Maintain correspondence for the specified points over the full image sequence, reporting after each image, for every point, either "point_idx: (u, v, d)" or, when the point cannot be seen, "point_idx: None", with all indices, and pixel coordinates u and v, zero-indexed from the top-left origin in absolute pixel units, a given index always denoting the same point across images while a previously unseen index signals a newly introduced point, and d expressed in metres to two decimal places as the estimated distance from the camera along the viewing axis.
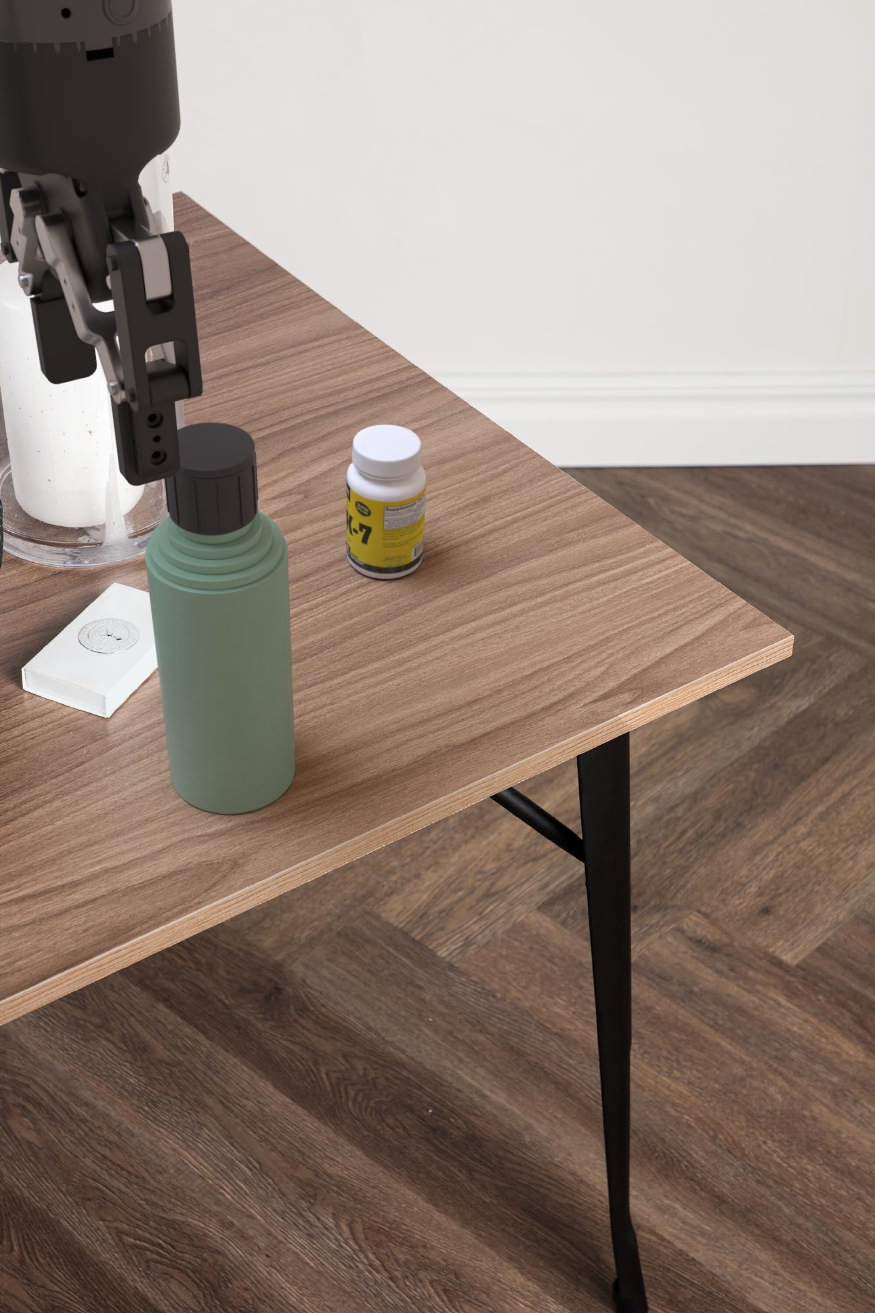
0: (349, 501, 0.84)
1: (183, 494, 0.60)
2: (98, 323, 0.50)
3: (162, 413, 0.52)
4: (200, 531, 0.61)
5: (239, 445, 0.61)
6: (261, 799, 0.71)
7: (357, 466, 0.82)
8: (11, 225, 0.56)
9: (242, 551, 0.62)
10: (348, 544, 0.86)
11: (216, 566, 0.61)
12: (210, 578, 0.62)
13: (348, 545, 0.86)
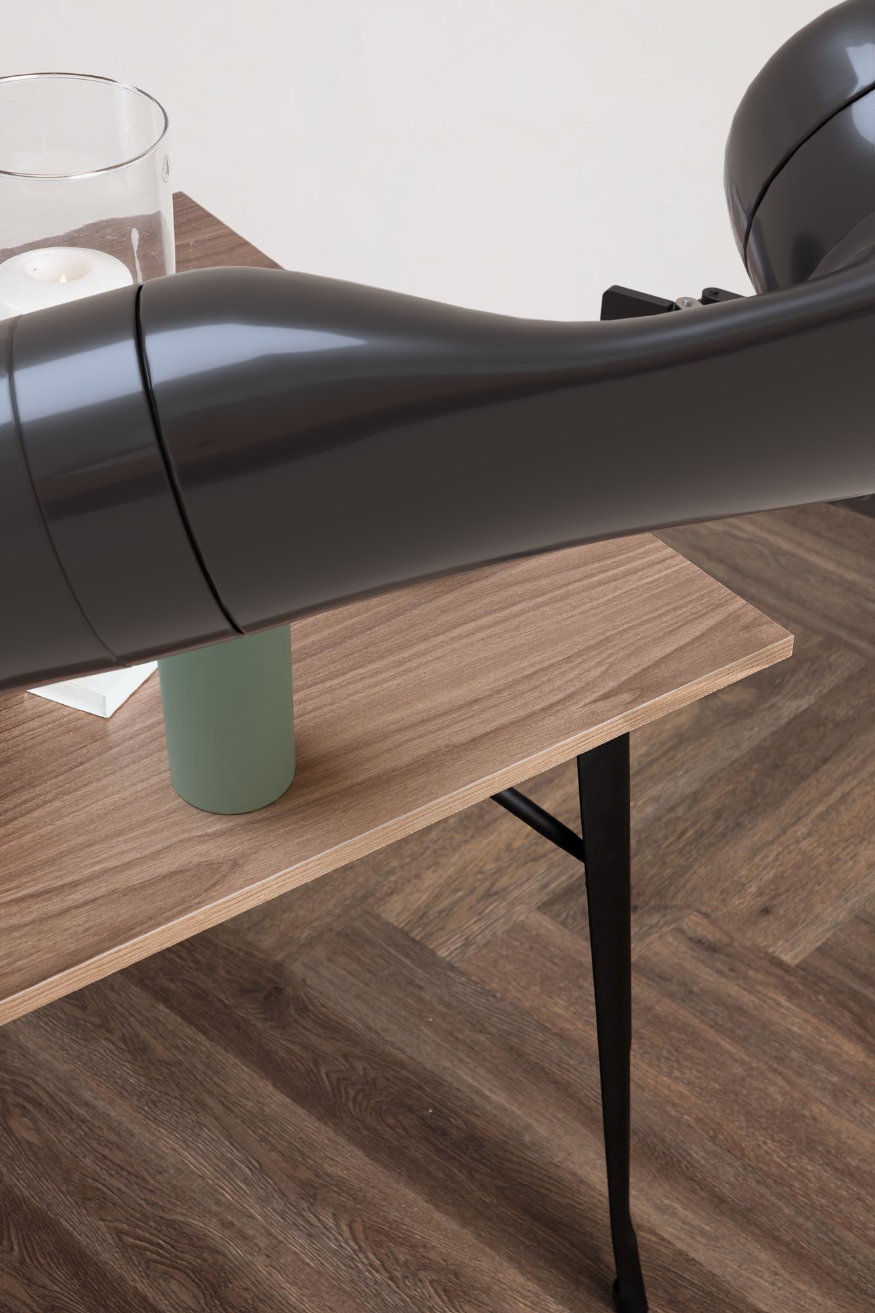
0: None
1: None
2: None
3: None
4: None
5: None
6: (261, 799, 0.71)
7: None
8: None
9: None
10: None
11: None
12: None
13: None
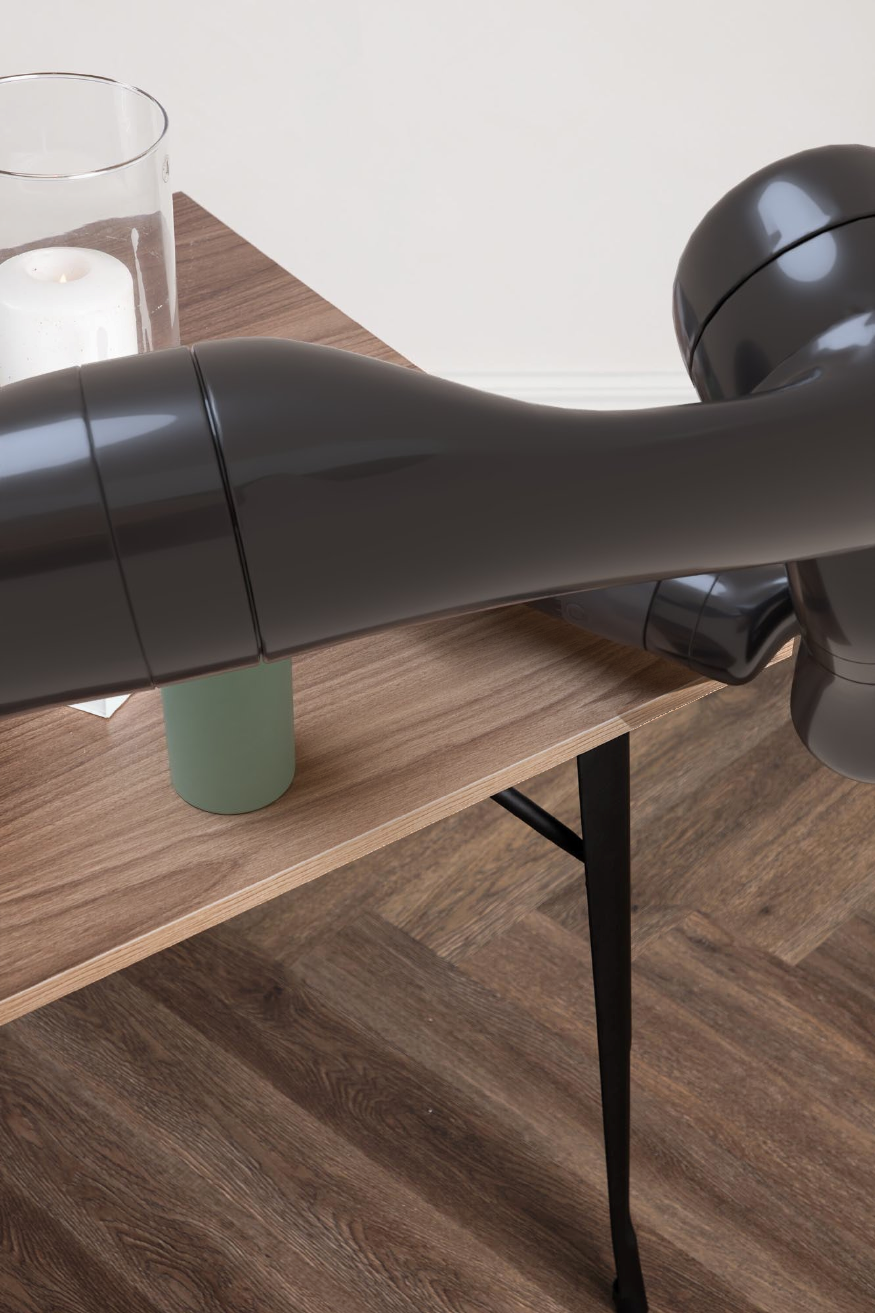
0: None
1: None
2: None
3: None
4: None
5: None
6: (261, 799, 0.71)
7: None
8: None
9: None
10: None
11: None
12: None
13: None
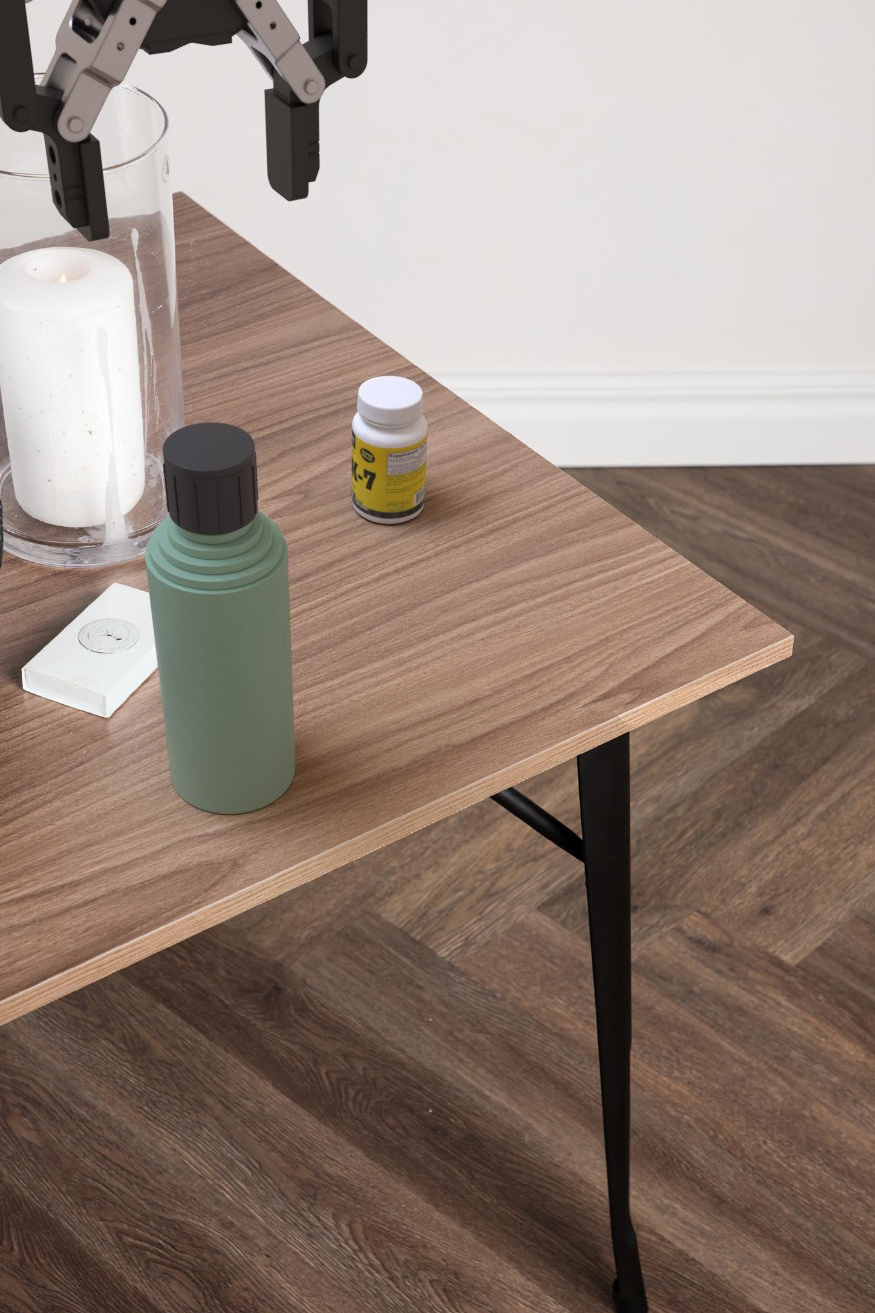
0: (354, 448, 0.88)
1: (183, 494, 0.60)
2: (63, 35, 0.49)
3: (56, 153, 0.49)
4: (200, 531, 0.61)
5: (239, 445, 0.61)
6: (261, 799, 0.71)
7: (362, 414, 0.86)
8: (309, 12, 0.53)
9: (242, 551, 0.62)
10: (353, 491, 0.90)
11: (216, 566, 0.61)
12: (210, 578, 0.62)
13: (353, 492, 0.90)
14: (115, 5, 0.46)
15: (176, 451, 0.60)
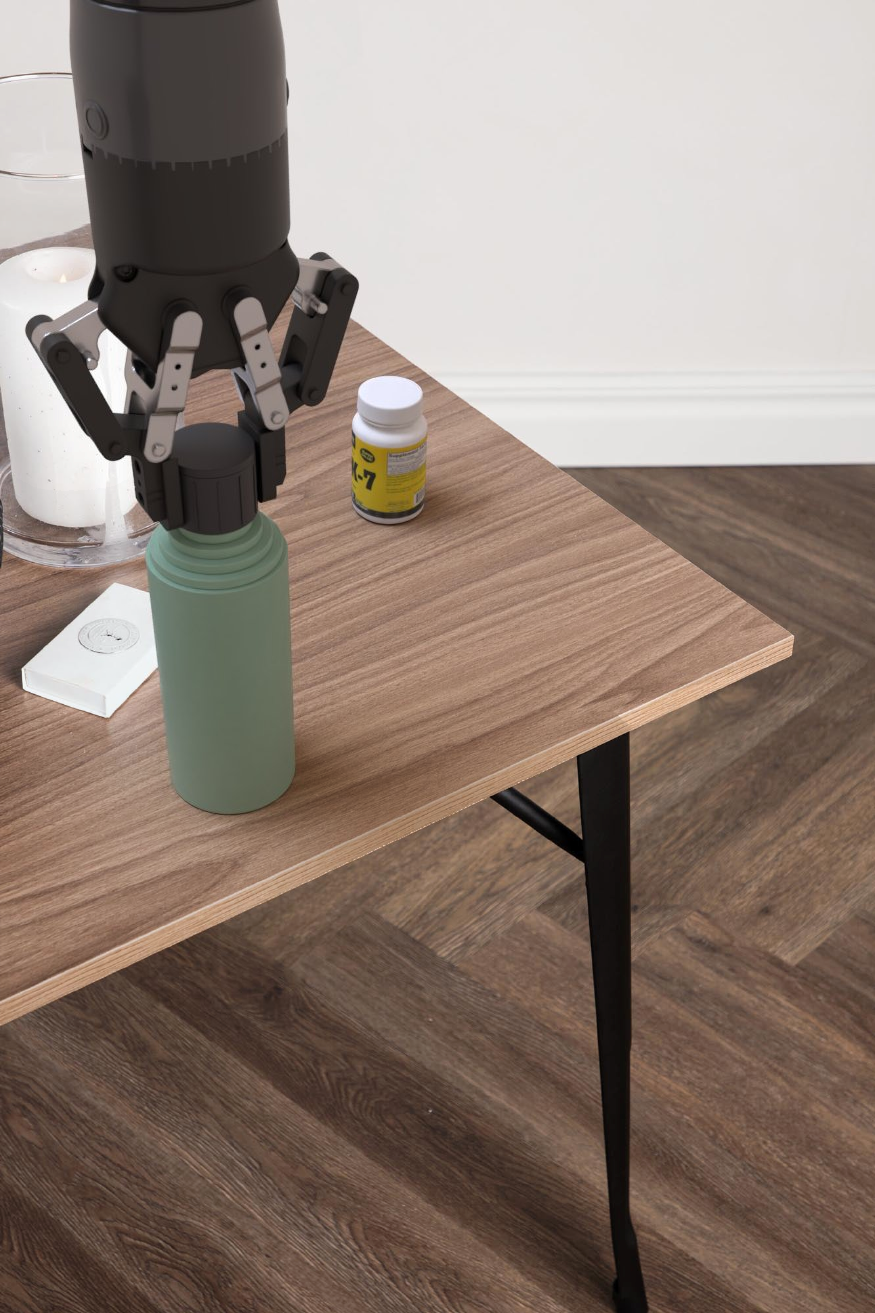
0: (354, 448, 0.88)
1: (183, 494, 0.60)
2: (129, 374, 0.58)
3: (141, 467, 0.59)
4: (200, 531, 0.61)
5: (239, 445, 0.61)
6: (261, 799, 0.71)
7: (362, 414, 0.86)
8: (285, 343, 0.61)
9: (242, 551, 0.62)
10: (353, 491, 0.90)
11: (216, 566, 0.62)
12: (210, 578, 0.62)
13: (353, 492, 0.90)
14: (160, 359, 0.55)
15: (176, 451, 0.60)
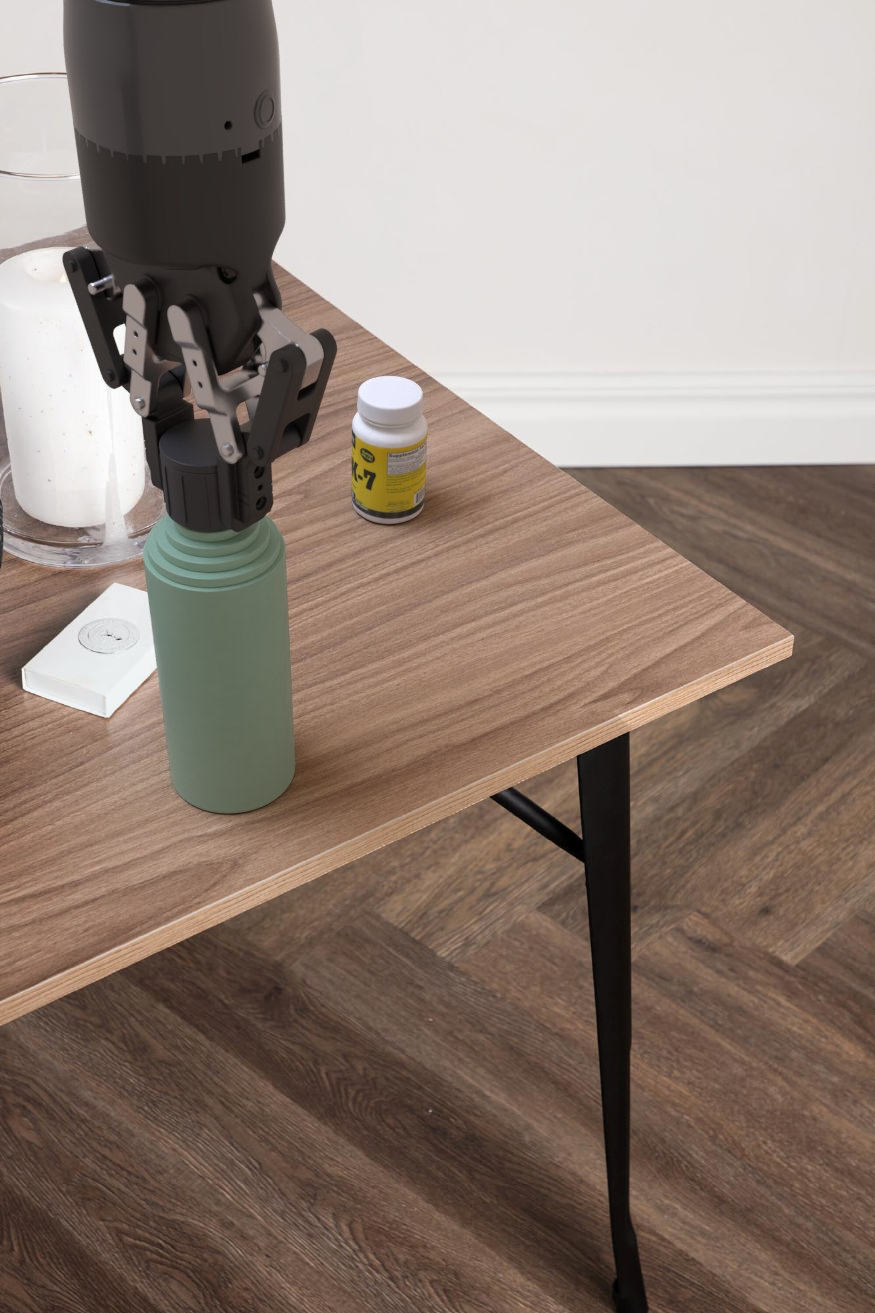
0: (354, 448, 0.88)
1: None
2: (224, 401, 0.56)
3: None
4: None
5: (197, 426, 0.61)
6: (261, 798, 0.71)
7: (362, 414, 0.86)
8: (111, 346, 0.60)
9: (239, 549, 0.62)
10: (353, 491, 0.90)
11: (213, 564, 0.62)
12: (208, 576, 0.62)
13: (353, 492, 0.90)
14: None
15: None
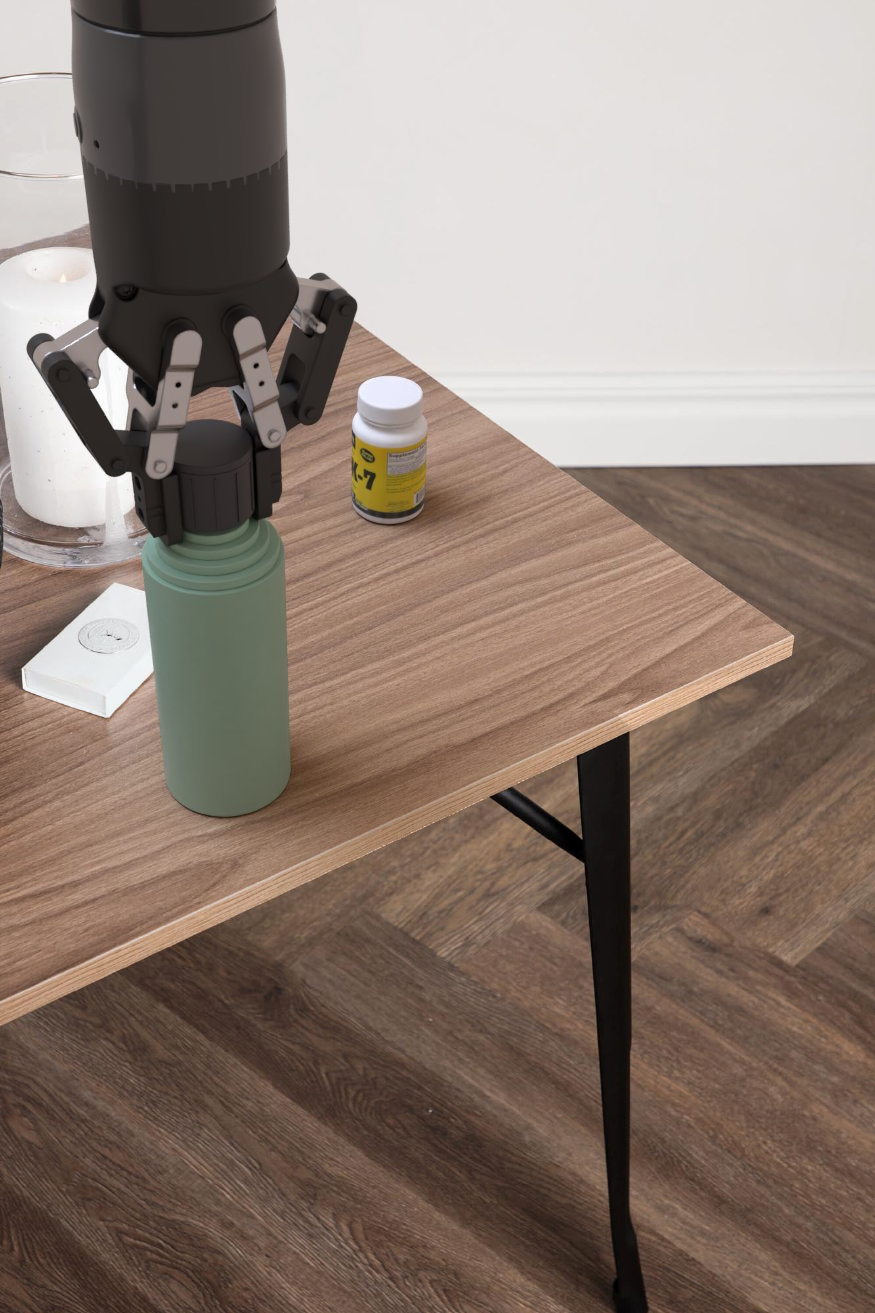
0: (354, 448, 0.88)
1: None
2: None
3: None
4: None
5: None
6: (256, 802, 0.70)
7: (362, 414, 0.86)
8: (115, 431, 0.56)
9: (239, 552, 0.62)
10: (353, 491, 0.90)
11: (213, 567, 0.61)
12: (207, 579, 0.61)
13: (353, 492, 0.90)
14: None
15: (238, 437, 0.61)
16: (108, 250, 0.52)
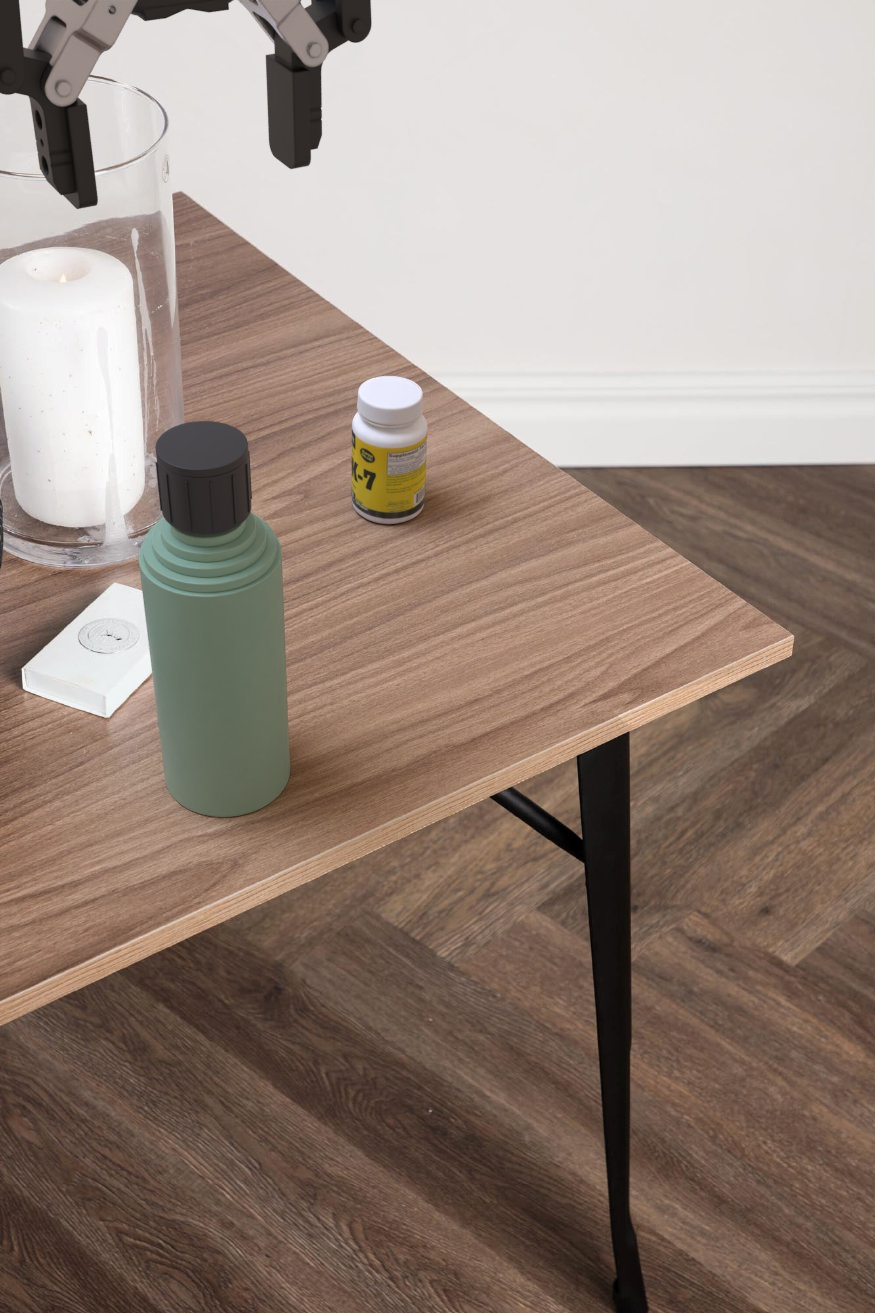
0: (354, 448, 0.88)
1: None
2: None
3: None
4: None
5: (170, 444, 0.60)
6: (255, 802, 0.71)
7: (362, 414, 0.86)
8: (20, 33, 0.46)
9: (236, 554, 0.62)
10: (353, 491, 0.90)
11: (210, 569, 0.61)
12: (204, 581, 0.61)
13: (353, 492, 0.90)
14: None
15: (233, 438, 0.61)
16: None
